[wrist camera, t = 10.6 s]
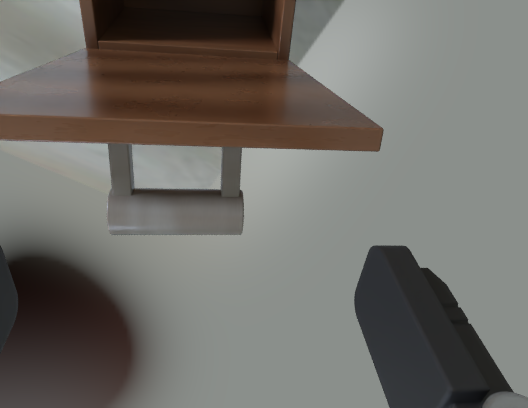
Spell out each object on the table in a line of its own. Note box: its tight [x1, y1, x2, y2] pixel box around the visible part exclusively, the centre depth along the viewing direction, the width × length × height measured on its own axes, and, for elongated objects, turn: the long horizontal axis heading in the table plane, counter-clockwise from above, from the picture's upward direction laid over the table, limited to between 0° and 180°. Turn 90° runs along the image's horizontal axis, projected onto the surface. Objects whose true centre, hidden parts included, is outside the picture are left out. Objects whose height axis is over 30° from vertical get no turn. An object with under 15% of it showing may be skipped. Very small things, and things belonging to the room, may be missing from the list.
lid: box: [0, 48, 383, 235], centre depth 22 cm, size 17×14×5 cm
